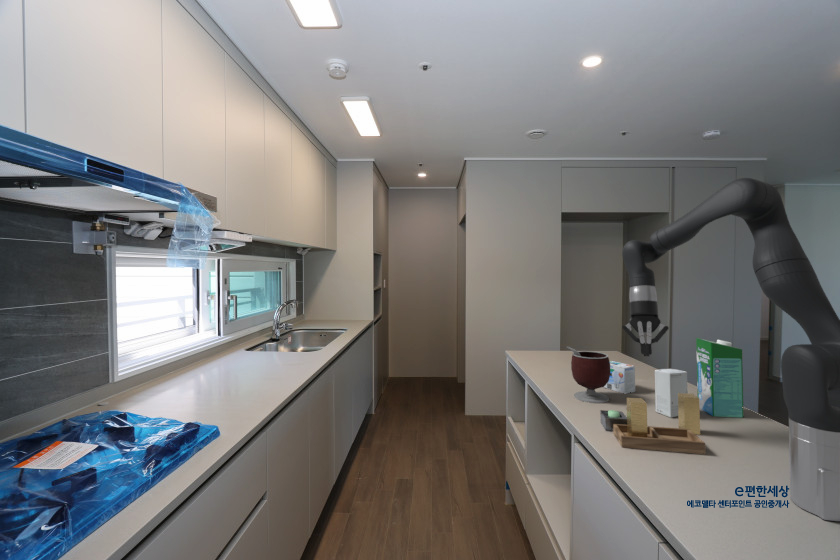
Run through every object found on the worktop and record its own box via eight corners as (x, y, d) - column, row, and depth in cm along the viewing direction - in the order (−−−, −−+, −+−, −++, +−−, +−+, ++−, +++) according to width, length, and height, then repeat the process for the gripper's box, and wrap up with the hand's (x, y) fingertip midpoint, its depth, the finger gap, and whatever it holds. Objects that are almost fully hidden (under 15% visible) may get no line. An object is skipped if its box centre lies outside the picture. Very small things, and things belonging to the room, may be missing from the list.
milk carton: (743, 418, 118) (742, 342, 117) (712, 416, 119) (711, 342, 119) (726, 408, 126) (724, 337, 126) (697, 406, 128) (695, 337, 128)
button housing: (628, 432, 109) (628, 419, 109) (605, 430, 111) (605, 417, 111) (622, 423, 115) (622, 411, 115) (600, 422, 117) (600, 410, 117)
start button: (621, 427, 111) (620, 414, 111) (609, 426, 112) (609, 413, 112) (618, 422, 114) (617, 410, 114) (607, 422, 115) (606, 409, 115)
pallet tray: (705, 454, 95) (705, 443, 95) (622, 447, 100) (621, 436, 100) (689, 439, 104) (688, 429, 104) (613, 433, 109) (612, 423, 109)
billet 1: (647, 442, 100) (646, 403, 100) (631, 440, 101) (630, 402, 101) (642, 435, 104) (641, 398, 104) (627, 434, 105) (626, 397, 105)
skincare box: (670, 418, 119) (670, 373, 119) (654, 411, 125) (653, 369, 125) (689, 414, 121) (688, 371, 121) (672, 408, 127) (671, 367, 127)
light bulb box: (601, 387, 153) (601, 362, 153) (612, 384, 156) (611, 360, 156) (625, 394, 143) (624, 367, 143) (636, 391, 146) (635, 365, 146)
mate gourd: (606, 393, 145) (605, 344, 145) (614, 405, 132) (613, 351, 132) (565, 390, 150) (564, 343, 149) (569, 402, 136) (568, 350, 136)
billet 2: (700, 434, 106) (699, 398, 106) (684, 433, 107) (683, 397, 107) (693, 429, 110) (692, 393, 110) (678, 428, 111) (677, 393, 111)
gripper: (618, 300, 115) (621, 354, 111) (668, 298, 108) (672, 357, 104) (620, 303, 121) (623, 355, 118) (668, 302, 114) (672, 357, 110)
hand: (646, 356), depth 111 cm, fingers closed
